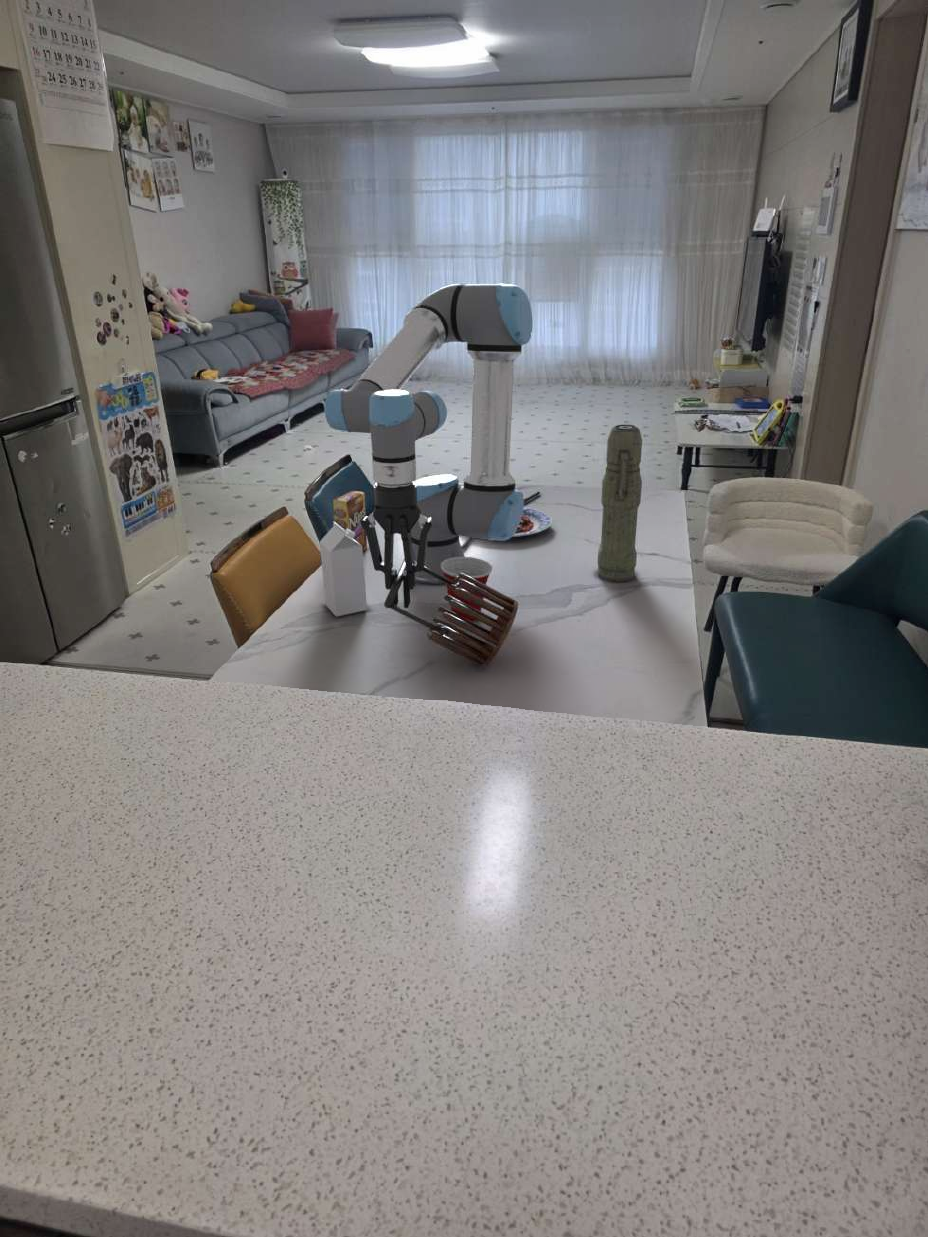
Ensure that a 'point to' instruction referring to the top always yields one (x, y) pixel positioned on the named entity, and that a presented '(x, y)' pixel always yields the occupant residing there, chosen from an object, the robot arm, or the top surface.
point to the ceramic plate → (532, 522)
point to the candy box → (351, 515)
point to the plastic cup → (469, 567)
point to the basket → (456, 637)
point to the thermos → (620, 504)
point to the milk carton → (343, 572)
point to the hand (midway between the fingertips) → (401, 604)
